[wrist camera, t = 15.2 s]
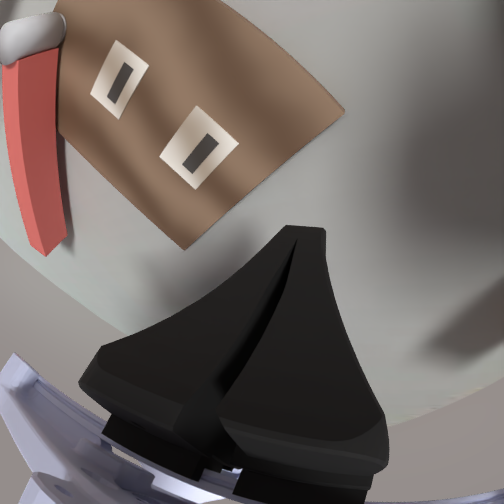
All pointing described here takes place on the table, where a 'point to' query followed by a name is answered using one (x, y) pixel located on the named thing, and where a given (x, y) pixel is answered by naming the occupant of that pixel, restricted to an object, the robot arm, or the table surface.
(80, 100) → the label board
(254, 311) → the robot arm
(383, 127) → the table surface
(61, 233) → the swing arm
